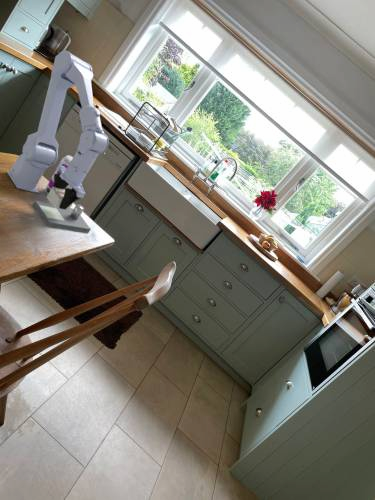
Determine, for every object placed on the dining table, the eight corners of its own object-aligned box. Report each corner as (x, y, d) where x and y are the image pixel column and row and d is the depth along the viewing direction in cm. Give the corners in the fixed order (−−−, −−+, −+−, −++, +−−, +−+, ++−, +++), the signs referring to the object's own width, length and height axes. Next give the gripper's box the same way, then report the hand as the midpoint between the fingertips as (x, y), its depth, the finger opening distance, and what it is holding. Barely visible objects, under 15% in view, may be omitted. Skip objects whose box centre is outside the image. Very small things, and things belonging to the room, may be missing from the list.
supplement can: (58, 205, 131) (79, 169, 126) (39, 190, 131) (60, 154, 126) (70, 201, 139) (90, 168, 134) (52, 188, 139) (72, 153, 134)
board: (33, 204, 121) (35, 200, 120) (74, 212, 134) (76, 209, 133) (47, 226, 115) (49, 222, 115) (88, 232, 129) (90, 228, 128)
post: (68, 213, 127) (75, 203, 125) (75, 215, 129) (81, 204, 128) (72, 219, 126) (78, 208, 124) (79, 220, 128) (85, 209, 126)
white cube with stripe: (61, 200, 123) (67, 189, 121) (68, 210, 120) (75, 199, 119) (46, 197, 118) (53, 185, 117) (53, 207, 116) (60, 196, 114)
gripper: (57, 150, 115) (37, 186, 119) (79, 177, 108) (57, 214, 112) (76, 156, 121) (56, 191, 125) (98, 183, 114) (76, 218, 118)
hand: (58, 202), depth 119 cm, fingers closed on white cube with stripe, 5 cm apart
